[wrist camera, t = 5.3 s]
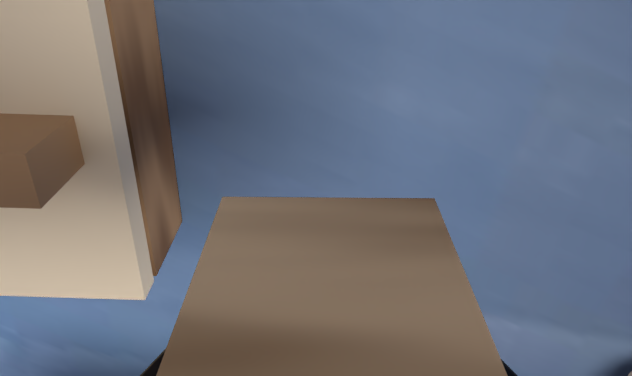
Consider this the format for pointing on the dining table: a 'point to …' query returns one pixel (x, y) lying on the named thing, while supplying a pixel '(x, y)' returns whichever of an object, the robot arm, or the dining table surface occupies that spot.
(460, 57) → the dining table surface
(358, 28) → the dining table surface
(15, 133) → the lid
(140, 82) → the wooden box
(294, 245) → the wooden block
